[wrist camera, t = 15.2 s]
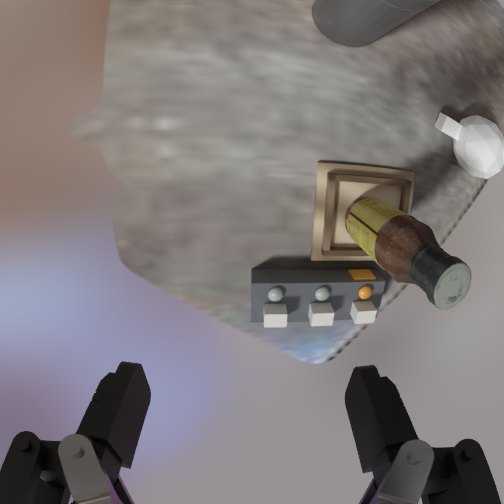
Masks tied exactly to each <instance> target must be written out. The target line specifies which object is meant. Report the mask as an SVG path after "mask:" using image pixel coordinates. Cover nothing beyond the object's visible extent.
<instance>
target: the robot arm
mask: <svg viewBox="0 0 504 504" xmlns="http://www.w3.org/2000/svg"><path fill="white" fill-rule="evenodd" d="M439 1H441V0H315V2H314V4H313V7H312V16H313V19H314V22H315V24H316V25H317V27H318V28H319V30H320V31H321V32H322V33H323V34H324V35H325V36H327V37H328V38H329V39H331V40H333V41H334V42H336V43H339V44H341V45H345V46H348V47H363V46H366V45H368V44H370V43H371V42H373V41H375V40H376V39H378V38H379V37H381V36H382V35H384V34H385V33H387V32H389V31H390V30H392V29H393V28H395V27H396V26H398V25H400V24H401V23H403V22H404V21H406V20H408V19H409V18H411V17H413V16H414V15H416V14H418V13H419V12H421V11H423V10H425V9H426V8H428V7H430V6H432V5H433V4H435V3H437V2H439ZM150 399H151V392H150V387H149V384H148V381H147V379H146V376H145V373H144V370H143V367H142V365H141V364H138V363H131V362H123V361H122V362H121V363H120V364H119V366H118V368H117V371H116V373H111V372H110V373H109V374H107V375H106V376H105V377H104V378H103V379H102V380H101V381H100V383H99V385H98V387H97V389H96V393H94V395H93V398H92V401H91V402H90V404H89V406H88V408H87V410H86V412H85V415H84V417H83V419H82V421H81V424H80V426H79V428H78V430H77V432H76V433H75V434H71V435H68V436H66V437H65V438H64V439H63V440H62V441H44V440H40V439H39V438H38V437H37V436H36V435H35V434H34V433H32V432H29V431H24V432H20V433H19V434H17V435H16V436H15V437H14V439H13V441H12V443H11V446H10V448H9V451H8V453H7V455H6V458H5V460H4V463H3V465H2V468H1V470H0V504H68V502H69V498H70V495H72V497H73V503H71V504H134V502H133V500H132V498H131V496H130V495H129V493H128V491H127V489H126V487H125V485H124V483H123V481H122V479H121V477H120V475H119V471H120V468H121V467H125V468H129V469H130V468H131V465H132V461H133V457H134V454H135V450H136V447H137V444H138V440H139V437H140V433H141V430H142V426H143V423H144V420H145V416H146V413H147V410H148V406H149V404H150ZM345 405H346V409H347V412H348V417H349V420H350V424H351V428H352V431H353V435H354V439H355V443H356V447H357V451H358V455H359V459H360V463H361V467H362V471H363V473H366V472H371V471H372V472H373V476H374V478H373V479H372V481H371V483H370V484H369V486H368V488H367V490H366V492H365V493H364V495H363V497H362V499H361V500H360V502H359V504H418V501H419V499H420V497H421V498H422V503H423V504H501V501H500V498H499V495H498V491H497V488H496V485H495V482H494V479H493V476H492V474H491V471H490V468H489V465H488V463H487V460H486V457H485V455H484V452H483V450H482V448H481V446H480V444H479V443H478V442H476V441H475V440H473V439H464V440H462V441H460V442H459V443H458V444H457V445H456V446H455V447H445V448H433V447H431V446H430V445H429V444H428V443H426V442H425V441H422V440H419V438H418V436H417V435H416V432H415V430H414V427H413V425H412V422H411V420H410V417H409V415H408V413H407V411H406V408H405V406H404V403H403V401H402V399H401V398H400V394H399V392H398V390H397V388H396V386H395V384H393V382H392V381H391V380H389V379H388V377H386V376H385V377H380V375H379V373H378V370H377V368H376V367H375V366H374V365H369V366H360V367H355V368H354V369H353V372H352V375H351V378H350V381H349V384H348V387H347V389H346V392H345Z"/></svg>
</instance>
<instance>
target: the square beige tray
mask: <svg viewBox="0 0 504 504" xmlns="http://www.w3.org/2000/svg"><path fill="white" fill-rule="evenodd" d="M414 181H415V172H412V171H405V170H397V169H389V168H381V167H372V166H362V165H350V164H338V163H323V162H317V178H316V196H315V212H314V226H313V239H312V250H311V261H374V260H373V259H372V258H371V257H370V256H369V255H368V254H367V253H366V252H365V251H364V250H363V249H362V248H361V247H360V246H359V245H358V244H357V243H356V242H355V241H354V240H353V239H352V238H351V236H350V235H349V233H348V232H347V230H346V227H345V214H346V211H347V209H348V208H349V207H350V205H351V204H352V203H353V202H354V201H356V200H357V199H359V198H376V199H378V200H380V201H382V202H384V203H386V204H388V205H390V206H392V207H394V208H396V209H398V210H400V211H402V212H404V213H406V214H408V215H410V212H411V205H412V198H413V190H414Z"/></svg>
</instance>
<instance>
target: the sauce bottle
mask: <svg viewBox="0 0 504 504" xmlns="http://www.w3.org/2000/svg"><path fill="white" fill-rule="evenodd" d="M345 227H346V230H347V232H348V233H349V235H350V236H351V238H352V239H353V240H354V241H355V242H356V243H357V244H358V245H359V246H360V247H361V248H362V249H363V250H364V251H365V252H366V253H367V254H368V255H369V256H370V257H371V258H372V259H373V260H374V261H375V262H376V263H377V264H378V265H379V266H380V267H381V268H382V269H383V270H385V271H387V273H388V274H389V275H390V276H391V277H392V278H394V279H395V280H396V281H397V282H404V283H412V284H416V285H417V286H419V287H420V288H421V289H422V290H423V291H424V292H425V293H426V294H427V297H428V299H429V301H430V302H431V303H433V304H434V305H435V306H436V307H437V308H439V309H441V310H448V309H451V308H453V307H454V306H456V305H457V304H458V303H459V302H461V301H462V299H463V298H464V297H465V296H466V294H467V292H468V290H469V288H470V284H471V271H470V268H469V267H468V265H467V264H466V263H464V262H463V261H462V260H461V259H459V258H457V257H454V256H450V255H449V254H447V253H446V252H445V251H444V250H443V249H442V248H440V247H439V245H438V243H437V241H436V239H435V236H434V233H433V231H432V229H431V228H430V227H429V226H428V225H426V224H424V223H422V222H420V221H418V220H417V219H415V218H414V217H412V216H410V215H408V214H406V213H404V212H402V211H400V210H398V209H396V208H394V207H392V206H390V205H388V204H386V203H384V202H382V201H380V200H378V199H376V198H359V199H357V200H356V201H354V202H353V203H352V204H351V205H350V207H349V208H348V209H347V211H346V214H345Z"/></svg>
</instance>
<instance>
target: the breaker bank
mask: <svg viewBox="0 0 504 504" xmlns="http://www.w3.org/2000/svg"><path fill="white" fill-rule="evenodd" d="M385 282H386V281H385V280H384V279H383V277H382V276H381V275H380V274H379V272H378V271H377V270H376V269H375V268H357V269H252V283H251V322H264V327H286V326H287V322H305V321H310V324H311V326H331V325H332V324H333V320H350V319H353V321H354V323H355V324H363V323H374V320H375V318H377V314H378V311H379V307H380V303H381V299H382V295H383V291H384V287H385Z"/></svg>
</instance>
